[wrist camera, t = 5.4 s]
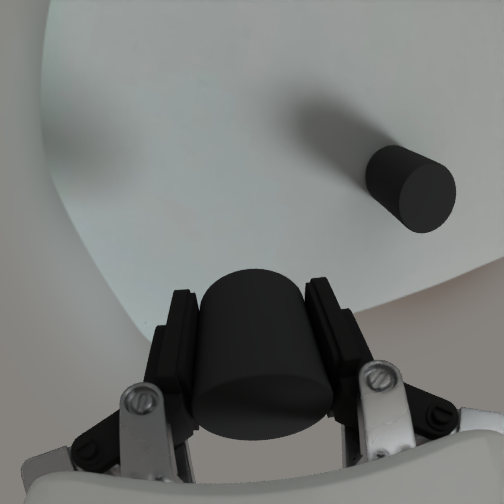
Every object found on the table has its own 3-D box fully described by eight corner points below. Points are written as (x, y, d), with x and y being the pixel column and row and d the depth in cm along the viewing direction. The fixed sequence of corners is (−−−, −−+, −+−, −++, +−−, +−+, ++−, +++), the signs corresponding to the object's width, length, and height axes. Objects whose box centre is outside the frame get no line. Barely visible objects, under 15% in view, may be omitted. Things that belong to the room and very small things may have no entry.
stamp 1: (208, 349, 12) (205, 443, 8) (191, 273, 10) (174, 378, 6) (301, 341, 12) (324, 432, 8) (306, 262, 10) (344, 362, 6)
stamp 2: (362, 204, 18) (393, 235, 14) (366, 143, 16) (402, 160, 12) (413, 203, 18) (449, 232, 14) (419, 147, 16) (461, 165, 12)
